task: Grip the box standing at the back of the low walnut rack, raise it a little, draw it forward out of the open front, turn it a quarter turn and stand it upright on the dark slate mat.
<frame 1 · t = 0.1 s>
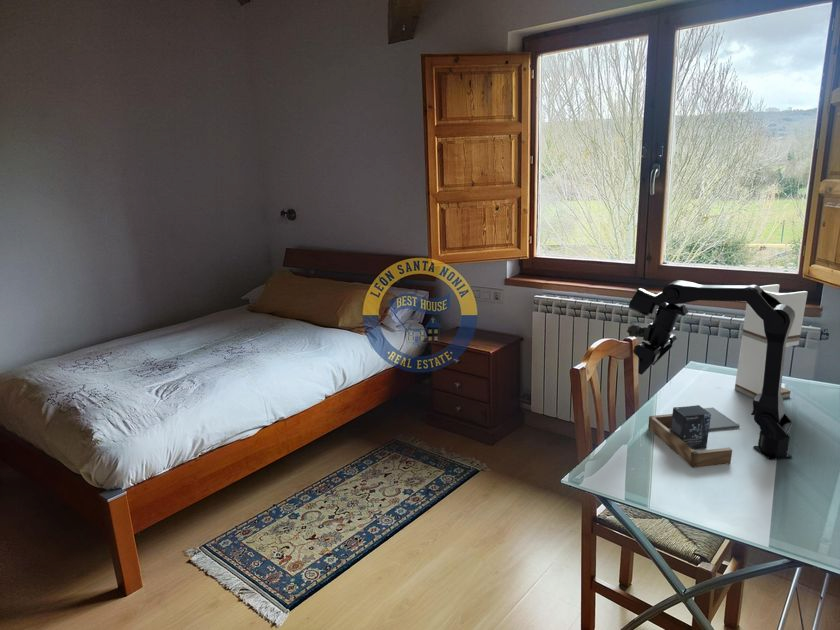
hand: (645, 369, 166), 15 cm above the table, tool pointing down, fingers open, 9 cm apart
walnut rack: (687, 444, 153), on the table
display case: (761, 393, 184), on the table
box: (687, 445, 153), on the table
slate mat: (707, 420, 166), on the table
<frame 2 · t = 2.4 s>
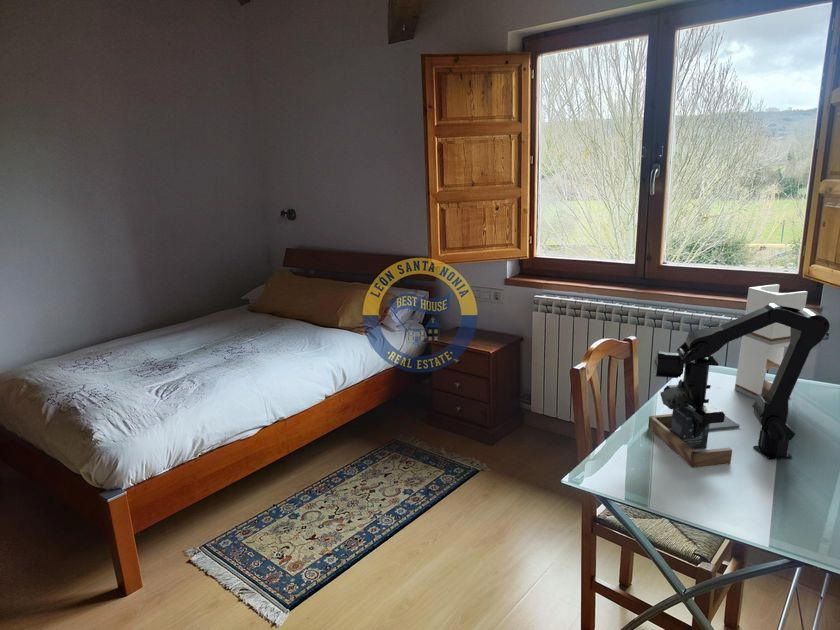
hand: (689, 431, 152), 4 cm above the table, tool pointing down, fingers closed on box, 6 cm apart
box: (687, 445, 153), on the table, touching gripper
everything else where it was.
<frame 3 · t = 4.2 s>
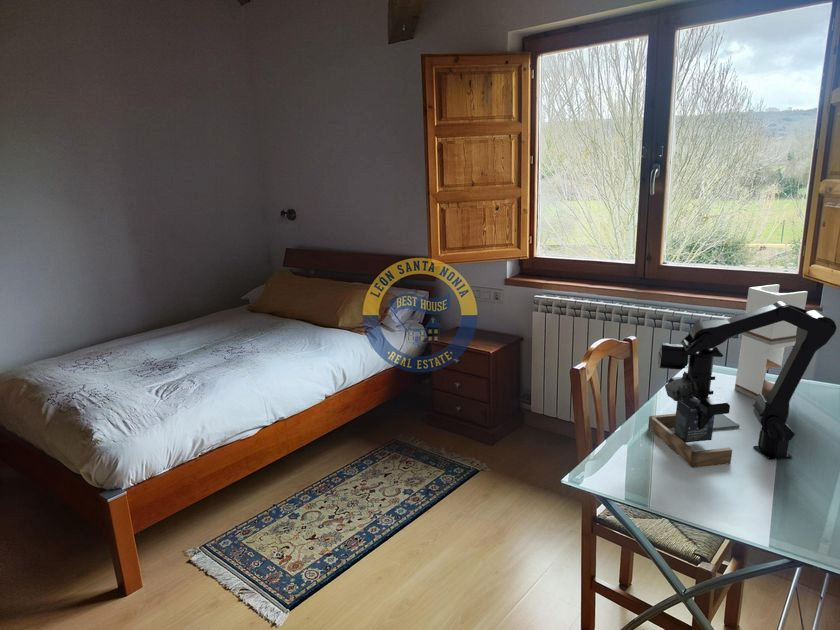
hand: (693, 423, 152), 6 cm above the table, tool pointing down, fingers closed on box, 6 cm apart
box: (692, 438, 153), point 2 cm above the table, touching gripper
everything else where it was.
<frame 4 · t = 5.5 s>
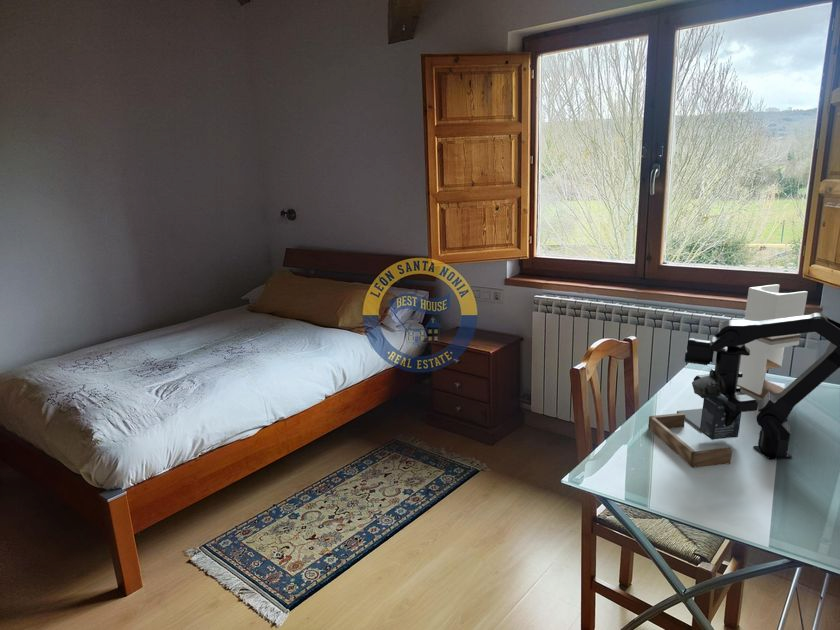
hand: (720, 421, 152), 6 cm above the table, tool pointing down, fingers closed on box, 6 cm apart
box: (718, 435, 154), point 2 cm above the table, touching gripper
everything else where it was.
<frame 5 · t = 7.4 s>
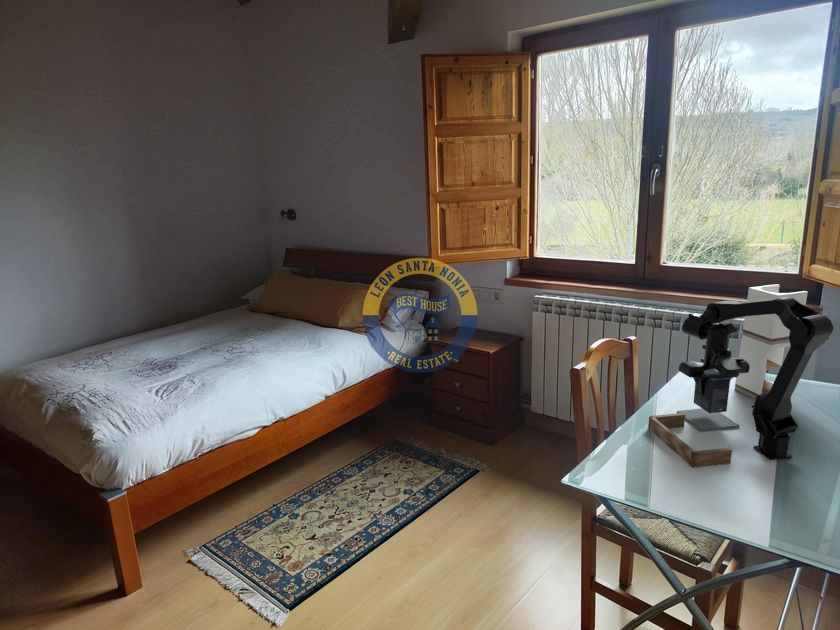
hand: (710, 394, 164), 8 cm above the table, tool pointing down, fingers closed on box, 6 cm apart
box: (709, 407, 165), point 4 cm above the table, touching gripper
everything else where it was.
when the fingers open (6 cm above the table, at t = 8.6 s): box drops 1 cm, resting on slate mat.
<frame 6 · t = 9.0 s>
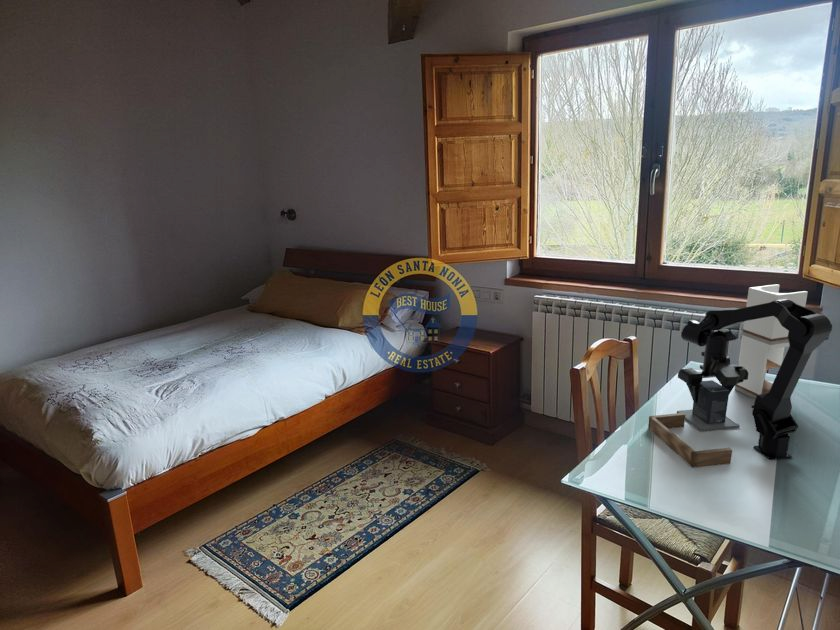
hand: (709, 401, 165), 6 cm above the table, tool pointing down, fingers open, 9 cm apart
box: (708, 418, 166), point 1 cm above the table, touching slate mat
everything else where it was.
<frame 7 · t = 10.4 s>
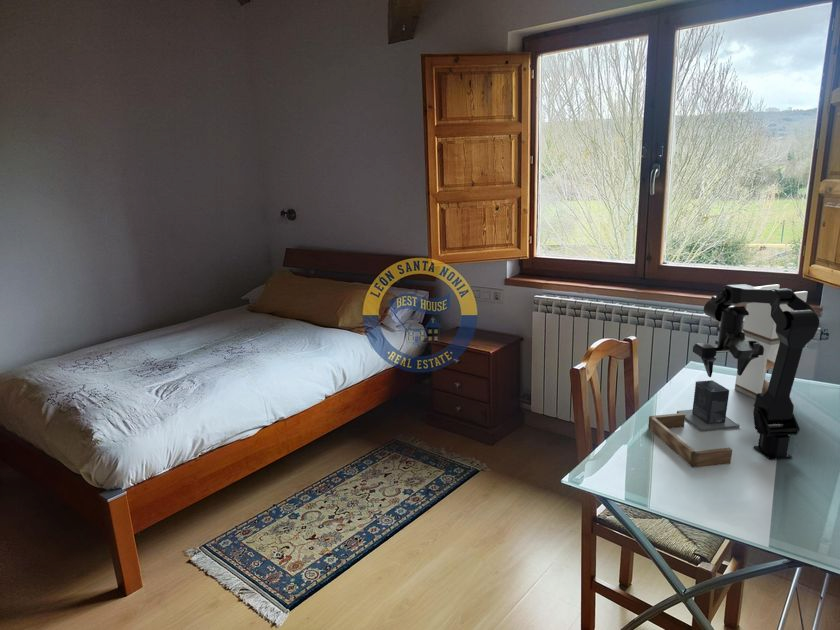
hand: (724, 375, 168), 12 cm above the table, tool pointing down, fingers open, 9 cm apart
nothing on the table moved.
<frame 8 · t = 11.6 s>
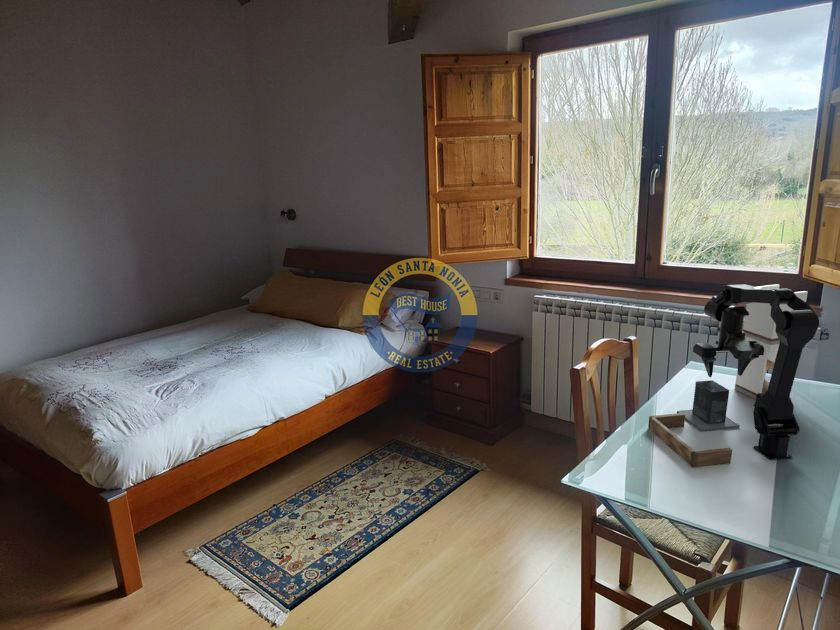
hand: (724, 376, 168), 12 cm above the table, tool pointing down, fingers open, 9 cm apart
nothing on the table moved.
at the end: box inside the target area on the slate mat (0.2 cm from its centre), point 0.6 cm above the slate mat's base; box tilted 0°; the gripper is holding nothing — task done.
